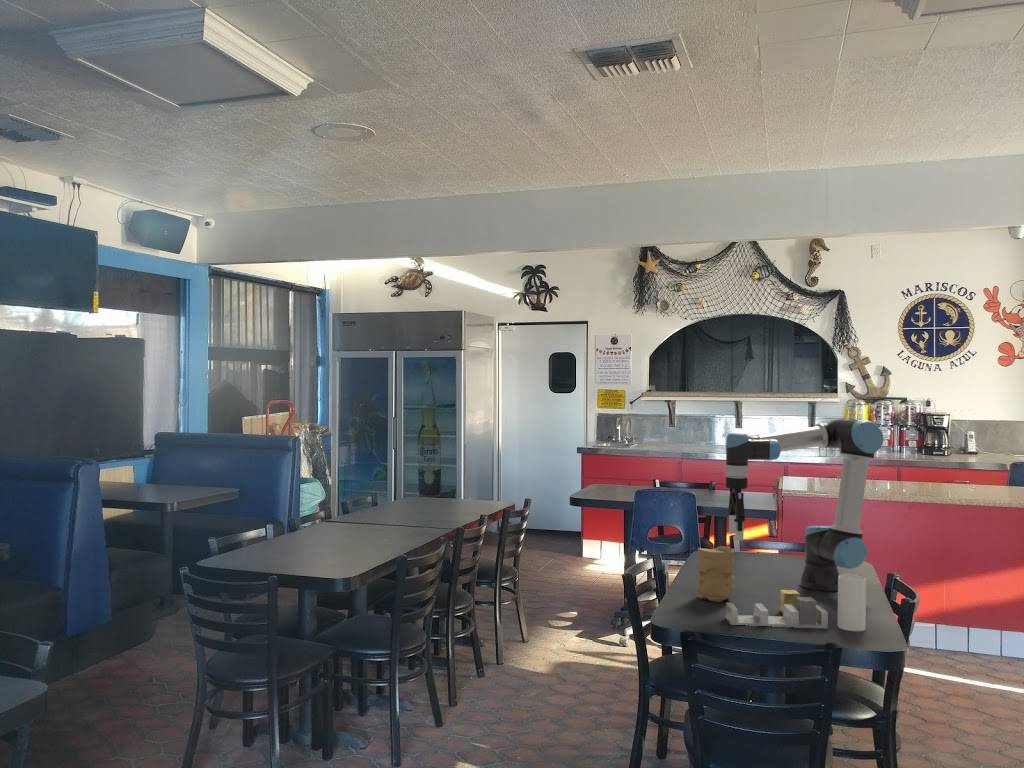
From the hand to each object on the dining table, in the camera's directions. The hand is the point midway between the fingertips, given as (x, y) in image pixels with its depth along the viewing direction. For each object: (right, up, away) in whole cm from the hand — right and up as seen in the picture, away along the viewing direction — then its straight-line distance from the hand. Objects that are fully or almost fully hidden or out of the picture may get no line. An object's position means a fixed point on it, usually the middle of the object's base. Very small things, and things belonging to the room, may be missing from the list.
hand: (735, 536), depth 300 cm
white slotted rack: (+5, -23, -28) cm, 37 cm away
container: (-7, -23, +1) cm, 24 cm away
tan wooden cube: (+14, -23, -15) cm, 31 cm away
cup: (+28, -23, -32) cm, 49 cm away
